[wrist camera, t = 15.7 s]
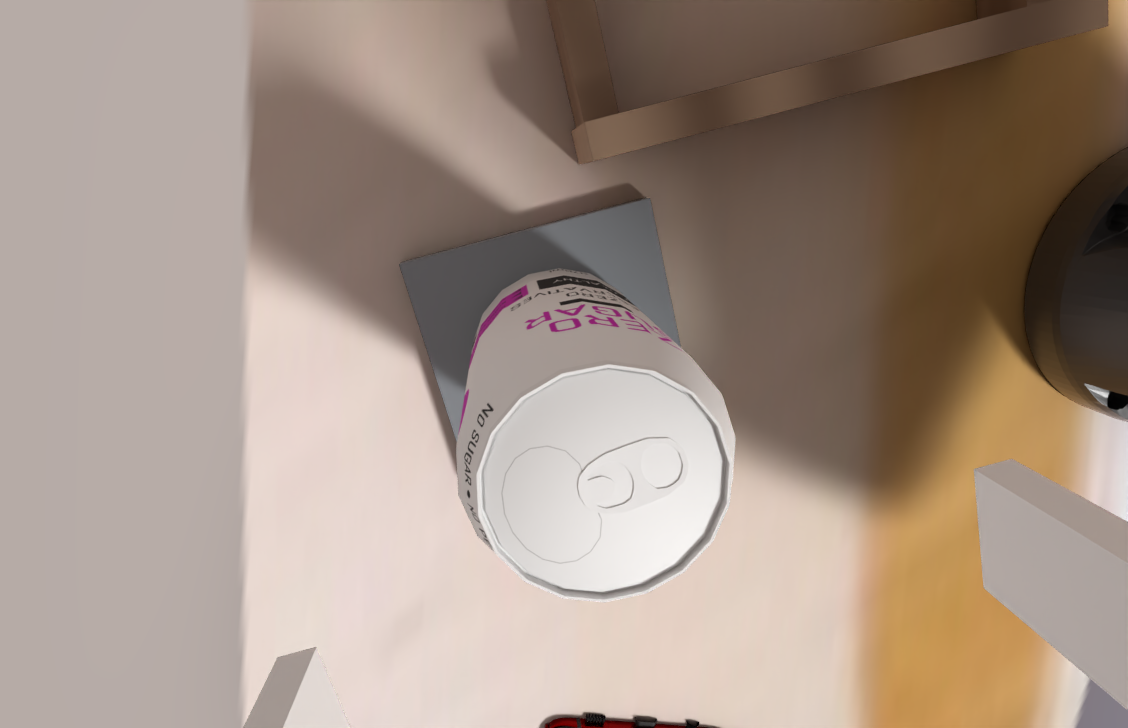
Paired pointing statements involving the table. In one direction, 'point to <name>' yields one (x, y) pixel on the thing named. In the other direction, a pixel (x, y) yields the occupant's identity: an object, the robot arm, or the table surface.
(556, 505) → the supplement can
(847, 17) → the table surface
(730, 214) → the table surface
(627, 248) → the pad
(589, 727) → the smartphone
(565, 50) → the rack
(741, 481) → the table surface
